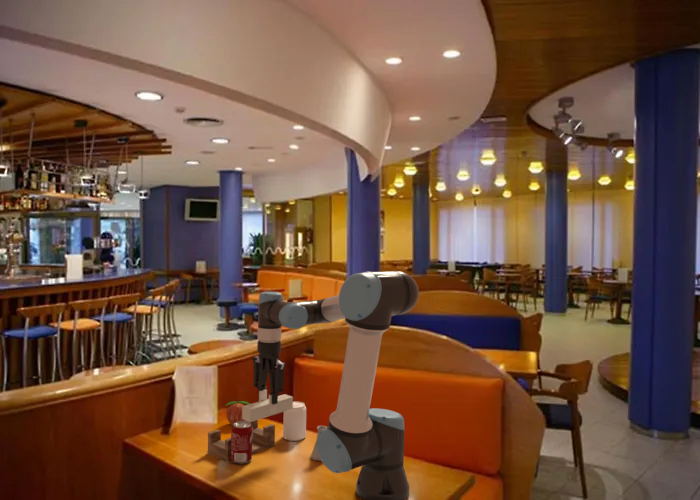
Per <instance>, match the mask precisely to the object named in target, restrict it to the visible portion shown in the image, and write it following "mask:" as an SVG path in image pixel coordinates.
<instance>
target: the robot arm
mask: <svg viewBox="0 0 700 500" xmlns="http://www.w3.org/2000/svg"><path fill="white" fill-rule="evenodd" d="M419 292H420V290H419V286H418V284H417V282H416V280H415V279H414V278H413V277H412V276H411V275H409V274H408V273H406V272H403V271H399V270H391V271H362V272H358V273H353V274H351V275H350V276H349V277H347V278H346V279H345V281H344V282H343V283H342V285H341V287H340V290H339V293H338V294H337V295H332V296H329V297H326V298H322V299H316V300H315V299H314V300H303V301H290V302H289V301H285V300H284V299H283V294H282V293H281V292H279V291H263V292H260V293H259V296H258V304H257V310H258V311H257V314H258V315H257V316H258V317H257V340H258V341H257V346H256V347H257V348H256V350H257V353H258V355H256V356H252V362H253V387H255V388H257V391H258V392H257V395H258V396H257V398H258V402H259V401H263V400H266V399H269V413H268V414H269V415H271V414H274V413H276V405H277V403H278V396H279V394H282V393H283V391H284V379H285V378H284V377H285V367H286V365H287V364H286V363H285V362H282V361H281V360H280V353H281V351H282V341H281V339H282V327H285V328H288V329H290V330H291V329H293V330H298V329H301V328H303V327H304V326H309V325H318V324H329V323H332V322H336V321H339V320H344V322H345V323H346V324H347V326H348V327H349V329H348V330H349V331H348V336H347V341H346V342H347V343H346V348H345V355H344V362H343V367H342V373H341V374H342V375H341V381H340V387H339V392H338V399H337V404H336V409H335V411H333V412H332V413H331V414H330V415H329V420H328V426H327V429H323V430H322V431H320V432H319V434H318V433H317V435H318V436H317V435H316V440H317V450H318V453H319V456H320V458H321V460H322V461H321V463H322V464H323V465H324V466H325V468H327V470H329V471H330V472H332V473H334V474H341V473H348V472H350V471H351V470H355V469H357V468H359V467H361V468H360V471H359V474H358V477H357V480H356V484H355V492H356V495H357V496H358V497H359V498H360V499H361V500H406V499H408V498H409V495H410V484H409V481H408V477H407V473H406V469H405V465H404V462H405V461H404V457H405V455H404V454H405V431H406V428H405V420H404V416H403V415H402V414H401V413H399V412H396V411H394V410H390V409H387V408H386V409H385V408H377V407H376V408H373V407H372V408H370V407H371V402H372V395H373V391H374V385H375V379H376V373H377V368H378V361H379V357H380V350H381V349H380V348H381V346H382V345H381V344H382V338H383V334H384V333H385V332H386V331H388V330H389V329H390V326H391V323H392V322H391V321H392V317H394V316H401V315H404V314H406V313H408V312H410V311H411V310H413V309H414V307H416V304H417V303H418V300H419V295H420V294H419ZM268 379H269V387H270V388H269V389H270V392H269V394H268V387H267V380H268ZM271 416H272V415H271Z"/></svg>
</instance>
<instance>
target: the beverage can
mask: <svg viewBox="0 0 700 500" xmlns="http://www.w3.org/2000/svg"><path fill="white" fill-rule="evenodd" d="M282 420H283V421H282V423H283V427H282V428H283V429H282V430H283V431H282V437H283V438H284V439H285V440H287V441H290V442H291V441H292V442H297V441H301V440H302V439H304V438H306V436H307V407H306V405H305V402H302V401H293V409H290V410H287V411H284V412H283V419H282Z"/></svg>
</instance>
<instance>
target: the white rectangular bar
mask: <svg viewBox="0 0 700 500" xmlns="http://www.w3.org/2000/svg"><path fill="white" fill-rule="evenodd" d="M293 402H294V397H293V396H292V395H288V394H286V393H284V394H281V395H278V403H277V405H276V413H274V414H271V415H269V414H268V413H269V398H267V399H266V400H263V401H259V400H258V401H256V402H253V403H250V404H246V405H245V406H242V419H244V420H246V421H248V422H253V421H256V420H258V421H260V420H262V419H265V418H267V417H271V416H274V415H277V414H281V413H284V411H287V410H290V409H293Z"/></svg>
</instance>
